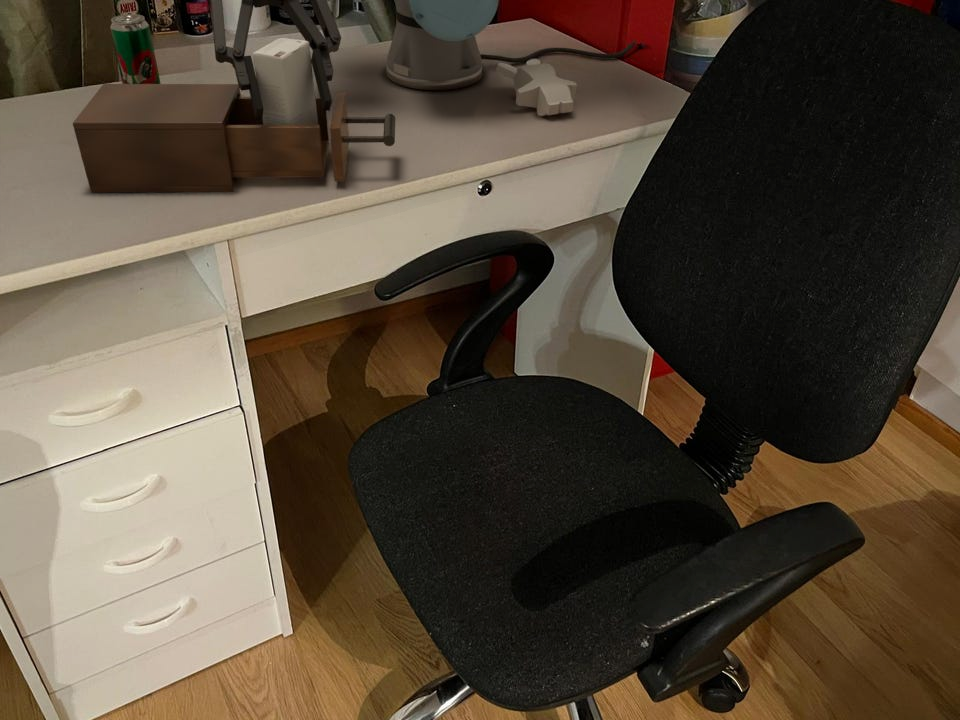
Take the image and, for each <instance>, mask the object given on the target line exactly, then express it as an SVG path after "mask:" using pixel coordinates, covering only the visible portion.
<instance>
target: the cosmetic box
mask: <svg viewBox="0 0 960 720" xmlns="http://www.w3.org/2000/svg"><path fill="white" fill-rule="evenodd" d="M252 58H253V59H252V60H253V66H254V71H255V75H256V79H257V83H258V88H259V92H260V96H261V100H262V104H263V108H264V109H263V125H318V118H317V109H316V100H315V97H316V92H315V83H314V76H313V75H314V72H313V67H312V63H311V58H312V54H311V47H310V46H309V42H308V41H306V40H305V39H304V40H303V39H295V38H287V37H278V38H277V39H275V40H274V41H271V42H270V43H268V44H267V45H265V46H263V47H261V48H259V49H257V50H256V51H254V52H253V53H252Z"/></svg>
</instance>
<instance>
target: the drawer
mask: <svg viewBox="0 0 960 720" xmlns="http://www.w3.org/2000/svg"><path fill="white" fill-rule="evenodd" d="M334 98H335V99H334V105H333V110H332V115H331V119H330V126H329V122H328V121H329V120H328V111H323V107H322V103H321V99H320V96H315V100H316V109H317V118H318V125H263V119H256V117H255V113H254V109H253V104H252V100H251V96H246V95H245V96H242V95H241V96H237V98H236V100H235V103H234V105H233V107H232V110H231V112H230V114H229V117H228V119H227V121H226V124H225V126H224V127H225V133H226V139H227V145H228V152H229V158H230V164H231V171H232V177H238V178H324V176H325V170H326V166H327V160H328V154H329V149H330V148H329V147H331V154H332V155H331V156H332V157H331V158H332V168H333V169H332V170H333V182H335V183H337V182H339V183H340V182H345V178H346V170H347V165H348V164H347V163H348V155H349V149H350V143H355V144H356V143H359V144H360V143H361V144H362V143H364V144H365V143H383V144H384V146H386V147H392V146H394V145H395V143H396V116H395V115H394V114H393V113H386V114H385V115H384V117H383V116H360V117H359V116H357V117H356V116H348V106H347V93H346V92H336V93H335V97H334ZM349 124H383V133H382V134H383V135H349ZM329 132H330V133H329ZM329 134H330V135H329ZM330 145H331V146H330Z"/></svg>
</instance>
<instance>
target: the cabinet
mask: <svg viewBox="0 0 960 720" xmlns="http://www.w3.org/2000/svg"><path fill="white" fill-rule="evenodd" d="M237 96H242V94H241V89H240V88H239V86H238V83H161V84H123V83H103V84H102V85H101V86H100V88H99V89H98V90H97V92H96V93H95V94H94V95H93V96H92V98H91V99H90V100H89V102H88V103H87V104H86V105H85V107H83V109H82V110H81V112H79V114H78V115H77V117H76V118H75V119H74V120H73V122H72V127H73V130H74V134H75V138H76V141H77V145H78V148H79V153H80V157H81V160H82V165H83V167H84V171H85V175H86V179H87V182H88V186H89V190H90V193H197V192H200V193H203V192H207V193H208V192H210V193H211V192H220V193H221V192H234V191H235V188H236V185H237V182H238V179H239V177H232V171H231V164H230V158H229V152H228V145H227V139H226V133H225V127H224V126H225V124H226V121H227V119H228V117H229V114H230V112H231V110H232V107H233V105H234V103H235V100H236V98H237Z"/></svg>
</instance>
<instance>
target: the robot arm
mask: <svg viewBox="0 0 960 720" xmlns="http://www.w3.org/2000/svg"><path fill="white" fill-rule="evenodd" d="M309 1H310V5H311V7H312V9H313V12H314V14H315V16H316V19H317V21H318V24H319V27H320V29H321V30H320V29H319V28H318V26H317V25H316V23H315V22H314V21H313V19H312V18H311V16H310V15H309V14H308V12H307V10H306V9H305V7H304V6H303V5H302V3H301V2H300V0H241V2H240V9H239V14H238V19H237V24H236V30H235V35H234V39H233V46H232V47H230V46H227V41H226V40H227V39H226V28H225V19H224V17H225V15H224V6H223V0H209V3H210V6H211V7H210V9H211V21H212V23H211V24H212V32H213V33H212V34H213V47H214V56H215V60H216V62H217V63H220V64H223V63H229V64H231V65H232V68H233V69H234V72H235V73H234V74H235V77H236V82H237V84H238V86H239V88H240V92H241V91H242V92H243V91H249V95H250V96H251V100H252V104H253V109H254V113H255V117H256V119H263V109H264V108H263V104H262V100H261V96H260V92H259V88H258V83H257V79H256V72H255V66H254V61H253V59H252V58H253V57H252V55H245V54H246V48H247V42H248V37H249V32H250V26H251V21H252V16H253V11H254V8H255V9H256V8H257V9H258V8H262V7H266V6H271V7H280V8H281V10H282V11H283V12H284V14H286V15H287V16H288V17H289V19H290V20H291V22H292V23H293V24H294V26H295V27H296V29H297V30H298V31H299V33H300V34H301V36H302V38H303V39H304V41H308V42H309V46H310V50H311V51H312V54H311V64H312V72H313V75H314V78H315V82H316V87H317V91H318V94H319V95H318V96H319V97H320V99H321V103H322V107H323V111H327V112H329V111H331V107H332V103H333V97H332V93H331V90H330V85H329V82H332V80H333V77H334V73H335V72H334V68H333V67H334V66H333V63H332V59H331V55H330V54H331V53H337V52H338V51H339V48H340V45H341V42H342V34H341V33H340V30H339V28H338V25H337V23H336V20H335V17H334V15H333V12H332V9H331V7H330V5H329V2H328V0H309ZM499 1H500V0H395V15H396V16H395V17H396V19H395V20H396V21H395V22H396V23H395V29H394V31H393V36H392V40H391V43H390V46H389V50H388V53H387V57H386V62H385V63H386V64H385V67H386V70H385V71H386V76H387V79H390V81H392V82H394V83H395V84H397V85H400V86H403V87H406V88H410V89H414V90H415V89H416V90H423V91H424V90H425V91H447V90H455V89H456V90H457V89H462V88H464V87H468V86H472V85H475V83H477V82H478V81H480V80H481V78H482V77H483V60H486V61H487V60H489V61H499V62H503V63H510V64H512V63H513V64H517V63H525V62H527V61H529V60H531V59H536V58H537V57H539V56H541V55H544V54H550V53H566V54H573V55H579V56H584V57H590V58H597V59H616V58H620V57H623V56H625V55H627V54H628V53H629V52H630V51H631V50H632V49H633V48H634V47H635V46H637V47H638V48H639V49H645V45H644V44H643V42H641V43H640V44H637V45H635V44H636V43H635V42H632V41H631V42H632V43H631V42H630V43H629V44H628V45H627V47H625V48H624V49H623V50H620V51H618V52H614V53H602V52H593V51H588V50H582V49H578V48H577V49H576V48H570V47H547V48H542V49H539V50H536V51H535V52H532V53H530V54H528V55H525V56H522V57H510V56H509V57H508V56H502V55H496V54H485V53H484V54H483V53H480V49H479V45H478V43H477V39H476V36H478V35H479V34H481V32H483V31H484V30H485V29H486V28H487V27H488V26H489V25H490V24H491V22H492V21H493V18H494V17H495V15H496V13H497V11H498V6H499ZM321 31H322V32H321ZM634 45H635V46H634Z"/></svg>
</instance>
